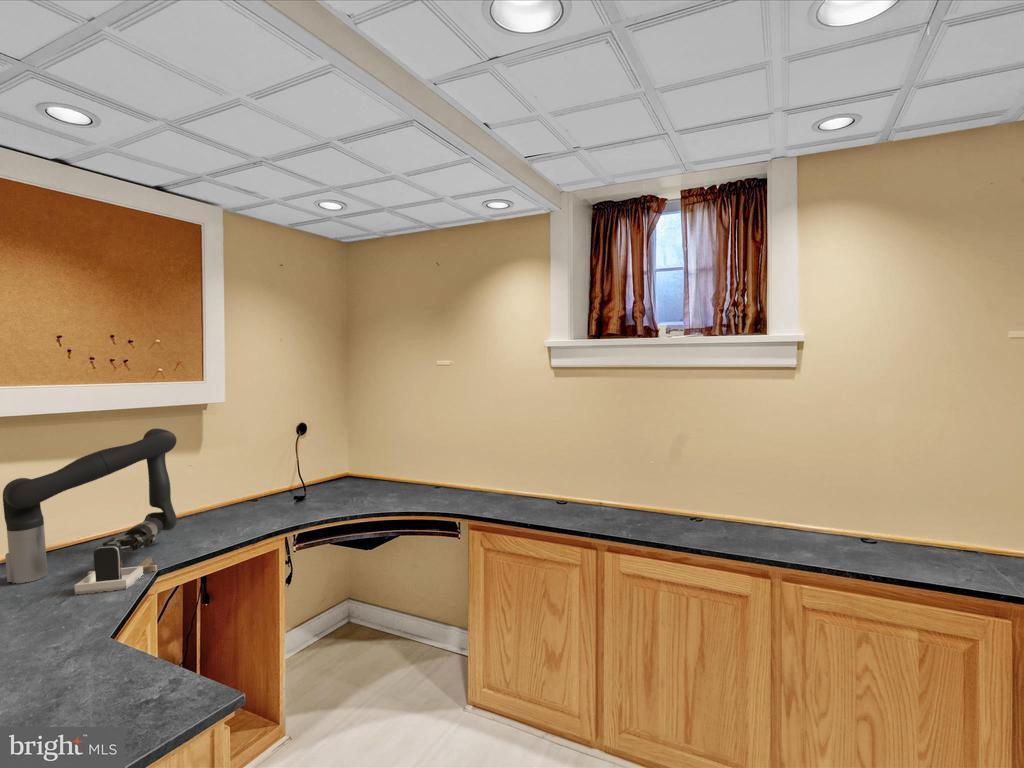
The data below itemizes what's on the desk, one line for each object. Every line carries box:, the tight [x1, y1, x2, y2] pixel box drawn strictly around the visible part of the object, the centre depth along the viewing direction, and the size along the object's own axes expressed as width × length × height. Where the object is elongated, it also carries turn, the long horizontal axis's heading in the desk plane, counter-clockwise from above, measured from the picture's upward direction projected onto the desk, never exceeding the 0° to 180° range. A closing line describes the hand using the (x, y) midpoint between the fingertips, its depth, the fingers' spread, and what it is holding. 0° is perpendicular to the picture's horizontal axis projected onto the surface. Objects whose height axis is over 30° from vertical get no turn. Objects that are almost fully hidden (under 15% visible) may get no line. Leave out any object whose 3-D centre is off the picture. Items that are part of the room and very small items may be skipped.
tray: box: [73, 565, 144, 596], centre depth 176 cm, size 14×12×3 cm
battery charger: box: [93, 545, 123, 582], centre depth 176 cm, size 7×4×11 cm, turn 100°
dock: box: [87, 557, 158, 576], centre depth 188 cm, size 20×10×2 cm, turn 102°
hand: (119, 549), depth 183 cm, fingers open, 8 cm apart
